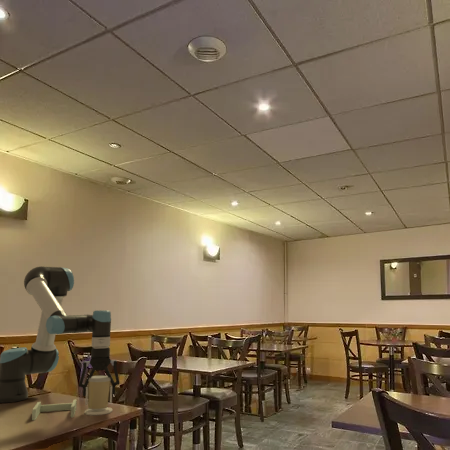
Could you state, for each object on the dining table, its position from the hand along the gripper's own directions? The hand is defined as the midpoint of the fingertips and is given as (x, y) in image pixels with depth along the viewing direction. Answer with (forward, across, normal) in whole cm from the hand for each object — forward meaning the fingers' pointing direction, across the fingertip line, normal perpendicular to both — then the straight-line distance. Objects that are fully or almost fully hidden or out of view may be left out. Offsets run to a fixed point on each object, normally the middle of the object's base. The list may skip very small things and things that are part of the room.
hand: (98, 403), depth 180 cm
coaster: (+3, 0, 0) cm, 3 cm away
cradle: (+3, -17, +2) cm, 17 cm away
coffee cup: (+2, 0, 0) cm, 2 cm away
